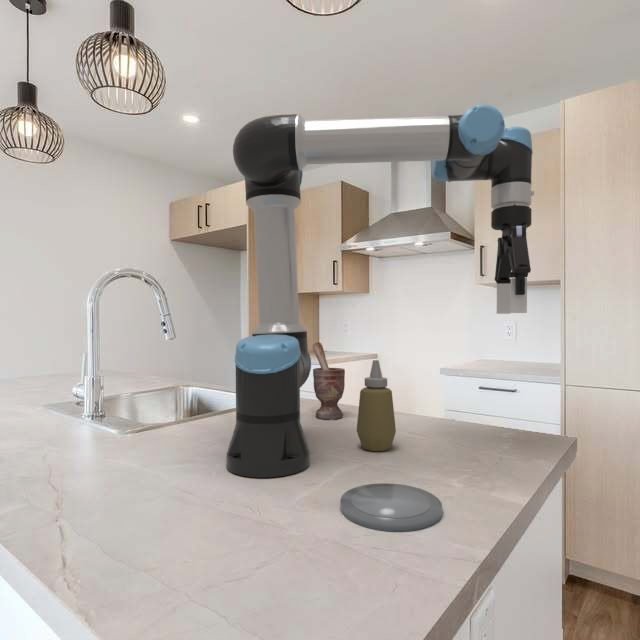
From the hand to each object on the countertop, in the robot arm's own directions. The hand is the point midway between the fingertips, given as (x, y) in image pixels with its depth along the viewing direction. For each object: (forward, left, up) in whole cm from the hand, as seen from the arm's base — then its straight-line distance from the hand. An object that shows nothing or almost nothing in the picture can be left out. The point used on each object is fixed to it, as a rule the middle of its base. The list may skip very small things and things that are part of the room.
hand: (510, 313), depth 93 cm
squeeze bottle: (-27, -1, -28) cm, 39 cm away
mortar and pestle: (-40, +29, -28) cm, 57 cm away
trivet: (-26, -31, -27) cm, 49 cm away
